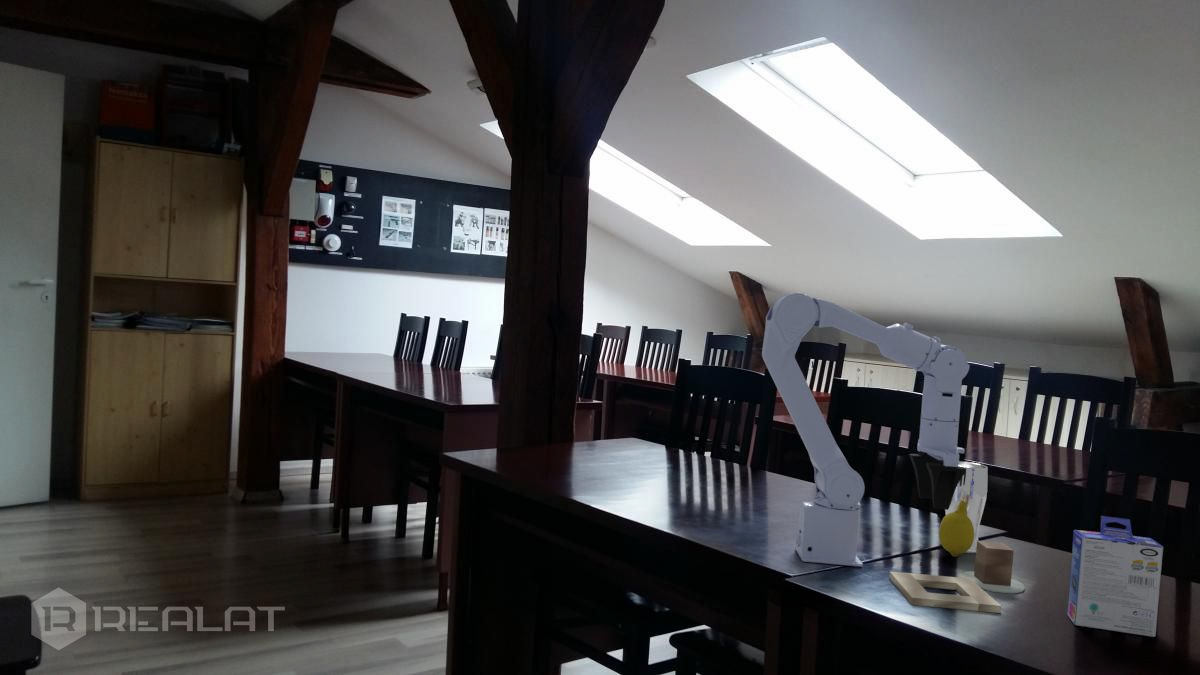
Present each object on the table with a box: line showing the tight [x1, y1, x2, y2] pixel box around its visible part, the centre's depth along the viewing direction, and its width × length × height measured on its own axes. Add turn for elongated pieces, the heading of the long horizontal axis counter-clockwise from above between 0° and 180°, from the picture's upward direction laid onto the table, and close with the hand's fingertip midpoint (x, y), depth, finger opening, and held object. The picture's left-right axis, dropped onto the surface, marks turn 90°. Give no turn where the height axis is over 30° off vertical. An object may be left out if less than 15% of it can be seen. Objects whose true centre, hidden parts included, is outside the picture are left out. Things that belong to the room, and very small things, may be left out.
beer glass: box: [944, 460, 989, 554], centre depth 151 cm, size 7×7×15 cm
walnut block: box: [973, 540, 1015, 586], centre depth 132 cm, size 4×4×6 cm
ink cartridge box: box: [1067, 515, 1164, 638], centre depth 116 cm, size 10×6×14 cm, turn 74°
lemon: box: [938, 510, 974, 558], centre depth 146 cm, size 6×6×8 cm
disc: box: [959, 571, 1025, 594], centre depth 132 cm, size 9×9×1 cm
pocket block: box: [888, 570, 1002, 614], centre depth 124 cm, size 12×12×1 cm
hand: (933, 503), depth 138 cm, fingers open, 7 cm apart
